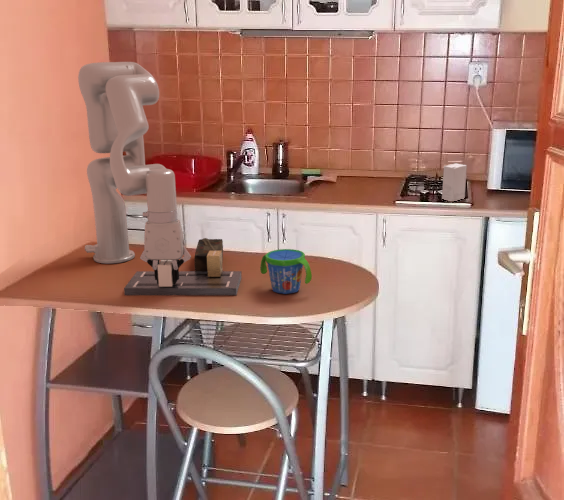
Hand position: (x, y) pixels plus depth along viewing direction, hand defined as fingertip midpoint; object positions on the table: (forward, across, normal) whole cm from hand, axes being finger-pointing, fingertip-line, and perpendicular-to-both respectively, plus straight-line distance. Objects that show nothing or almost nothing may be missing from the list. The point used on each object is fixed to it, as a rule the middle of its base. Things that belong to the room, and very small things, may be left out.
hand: (167, 281), depth 184 cm
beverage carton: (+3, +8, +23) cm, 24 cm away
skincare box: (+3, +97, +110) cm, 147 cm away
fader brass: (0, +12, +8) cm, 14 cm away
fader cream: (0, 0, 0) cm, 0 cm away
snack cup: (+3, +32, +1) cm, 32 cm away
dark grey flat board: (+3, +4, +4) cm, 6 cm away
